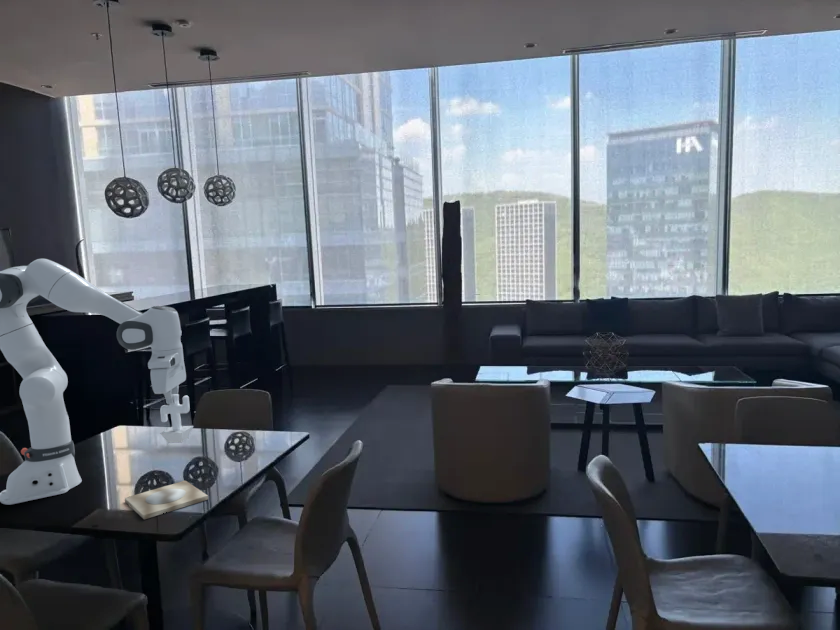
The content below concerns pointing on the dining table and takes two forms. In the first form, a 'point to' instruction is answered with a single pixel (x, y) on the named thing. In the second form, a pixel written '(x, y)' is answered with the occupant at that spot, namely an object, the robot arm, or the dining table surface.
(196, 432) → the dining table surface
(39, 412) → the robot arm
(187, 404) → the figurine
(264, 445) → the dining table surface
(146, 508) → the oak board
